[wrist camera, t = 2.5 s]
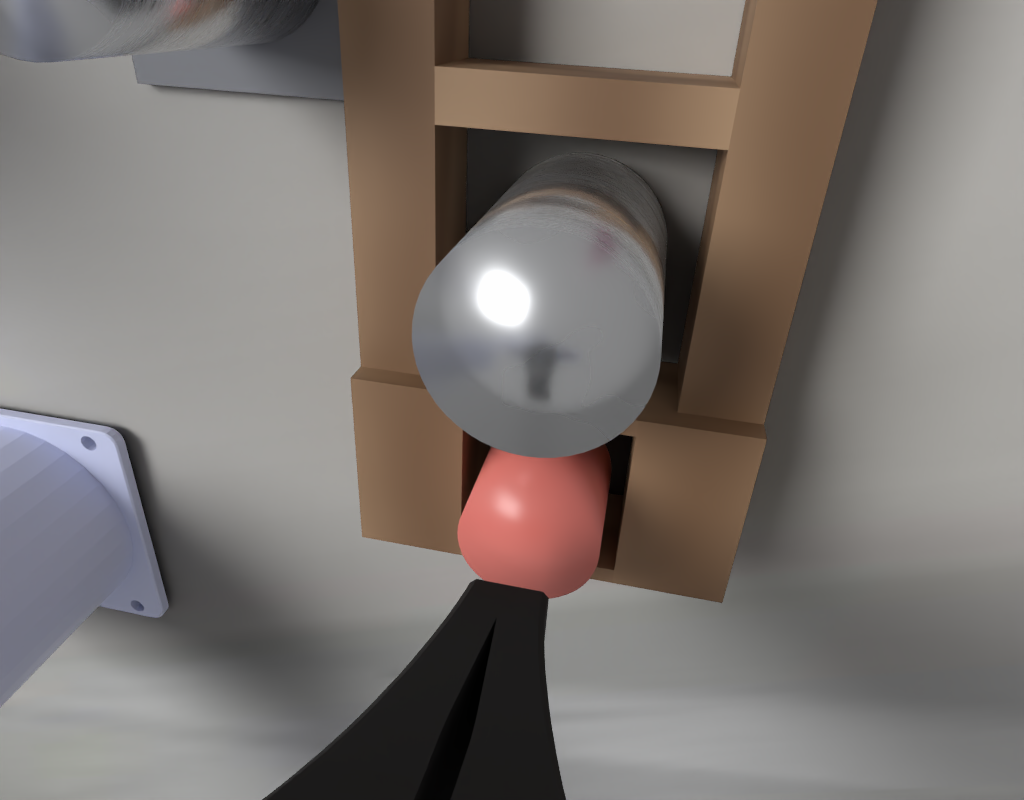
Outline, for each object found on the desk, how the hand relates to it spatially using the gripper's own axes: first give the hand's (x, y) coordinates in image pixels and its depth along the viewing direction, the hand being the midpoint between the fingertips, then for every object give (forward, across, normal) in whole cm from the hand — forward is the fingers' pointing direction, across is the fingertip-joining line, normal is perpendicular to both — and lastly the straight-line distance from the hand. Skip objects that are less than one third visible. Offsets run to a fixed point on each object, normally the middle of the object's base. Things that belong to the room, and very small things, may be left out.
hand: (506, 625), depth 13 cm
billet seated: (+7, 0, -5) cm, 9 cm away
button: (+5, 0, 0) cm, 5 cm away
